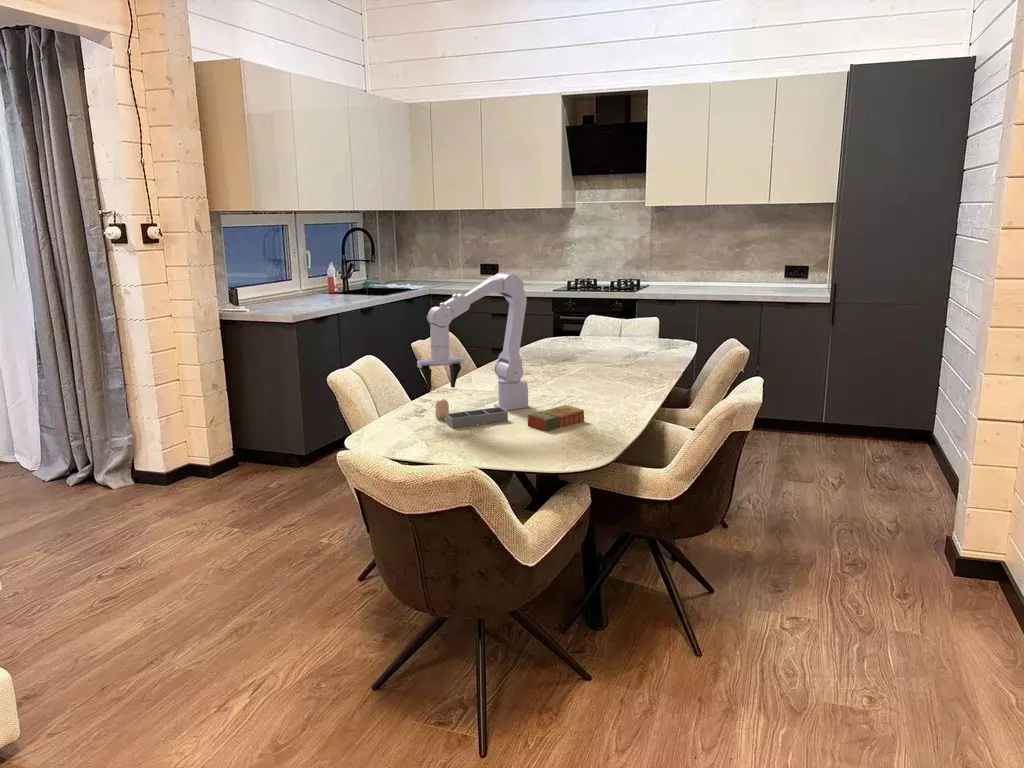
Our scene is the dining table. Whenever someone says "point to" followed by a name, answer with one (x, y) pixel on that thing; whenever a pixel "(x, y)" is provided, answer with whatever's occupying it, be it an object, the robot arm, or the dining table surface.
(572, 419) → the carton
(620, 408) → the dining table surface
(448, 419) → the egg holder
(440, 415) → the egg
